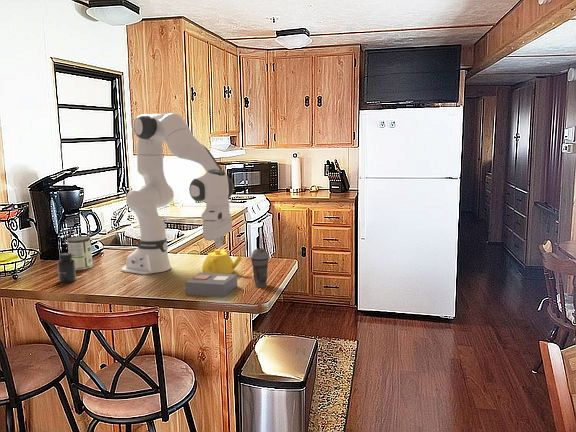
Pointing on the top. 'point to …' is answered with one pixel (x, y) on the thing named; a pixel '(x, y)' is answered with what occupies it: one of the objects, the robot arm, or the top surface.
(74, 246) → the coffee can
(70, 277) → the supplement bottle
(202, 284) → the key console
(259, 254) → the beverage cup
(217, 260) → the teapot
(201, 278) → the terracotta key
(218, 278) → the white key
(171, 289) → the top surface
